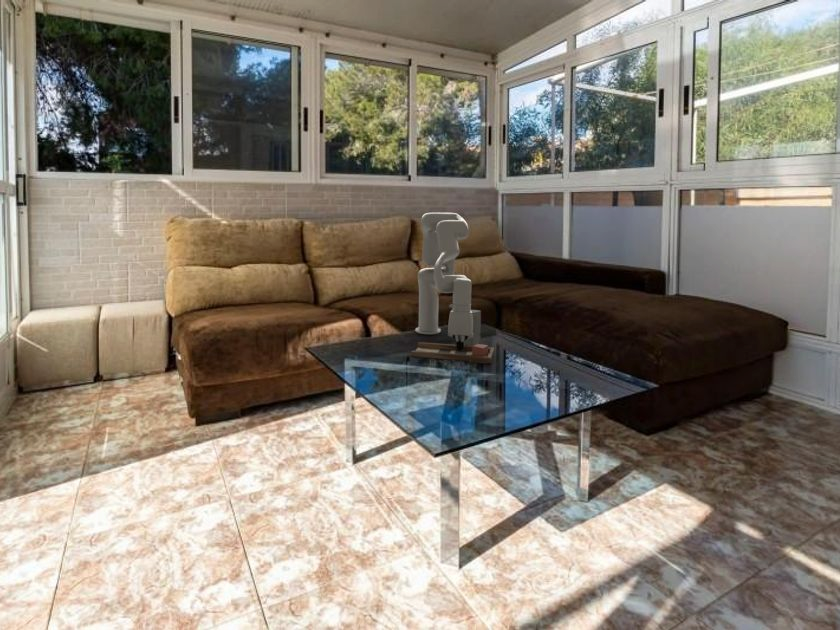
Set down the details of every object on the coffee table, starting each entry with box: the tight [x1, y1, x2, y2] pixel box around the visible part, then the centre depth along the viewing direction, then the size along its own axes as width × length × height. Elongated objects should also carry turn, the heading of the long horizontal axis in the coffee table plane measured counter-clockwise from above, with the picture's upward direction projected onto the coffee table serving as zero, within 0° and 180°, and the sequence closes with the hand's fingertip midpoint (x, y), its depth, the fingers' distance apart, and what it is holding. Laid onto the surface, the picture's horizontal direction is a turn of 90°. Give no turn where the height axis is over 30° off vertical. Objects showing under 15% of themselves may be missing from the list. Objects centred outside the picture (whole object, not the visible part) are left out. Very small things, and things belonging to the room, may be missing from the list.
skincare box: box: [460, 309, 482, 346], centre depth 252 cm, size 8×7×16 cm
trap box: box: [410, 341, 495, 364], centre depth 236 cm, size 15×33×3 cm, turn 78°
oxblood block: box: [472, 343, 489, 356], centre depth 232 cm, size 5×5×5 cm
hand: (459, 350), depth 236 cm, fingers closed
